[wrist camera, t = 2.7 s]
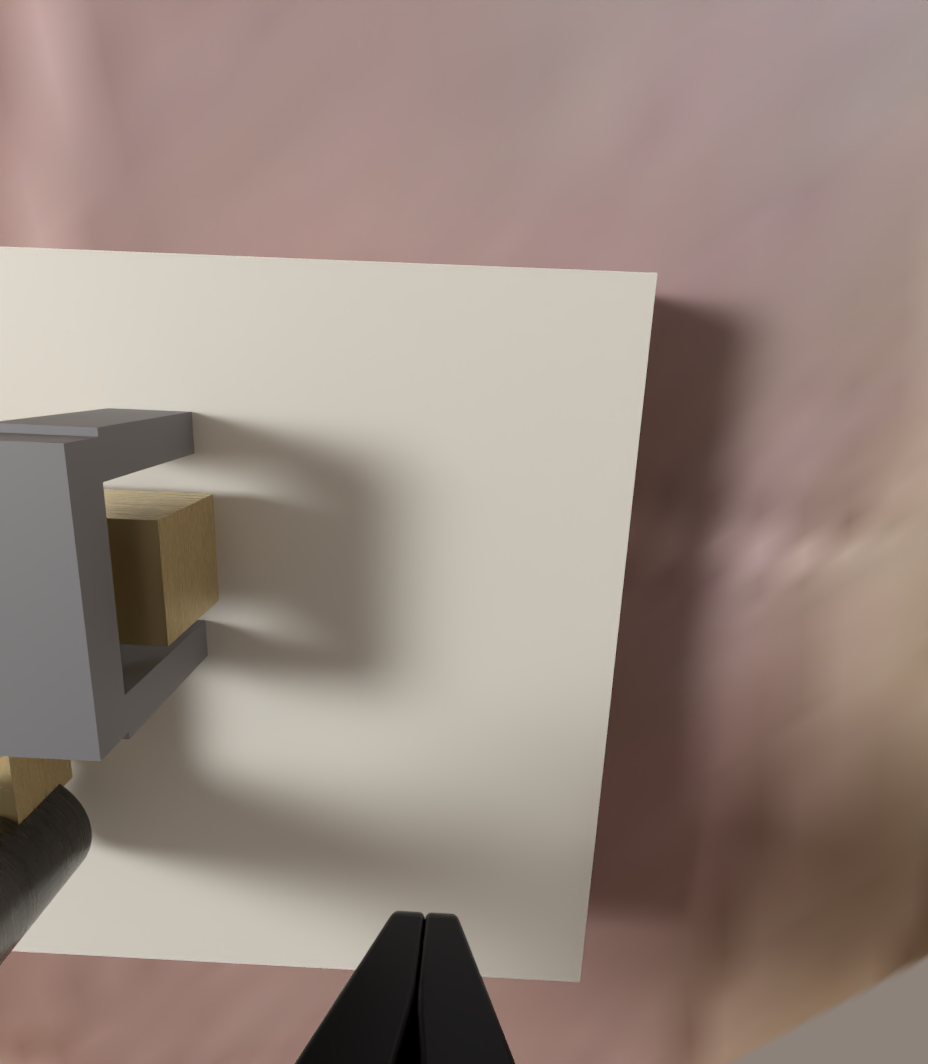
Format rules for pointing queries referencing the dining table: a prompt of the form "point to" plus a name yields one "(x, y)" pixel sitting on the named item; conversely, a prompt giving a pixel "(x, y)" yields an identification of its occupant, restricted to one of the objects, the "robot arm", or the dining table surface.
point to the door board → (322, 595)
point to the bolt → (143, 619)
